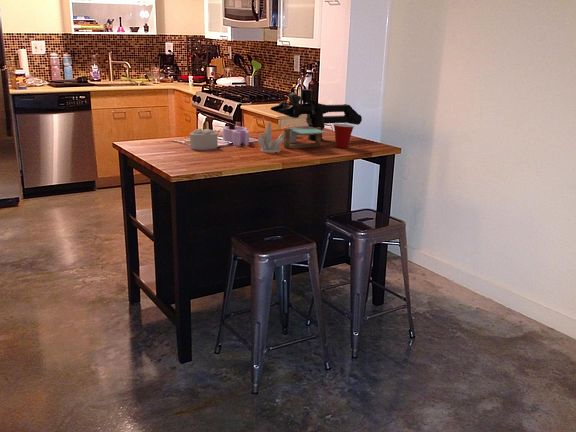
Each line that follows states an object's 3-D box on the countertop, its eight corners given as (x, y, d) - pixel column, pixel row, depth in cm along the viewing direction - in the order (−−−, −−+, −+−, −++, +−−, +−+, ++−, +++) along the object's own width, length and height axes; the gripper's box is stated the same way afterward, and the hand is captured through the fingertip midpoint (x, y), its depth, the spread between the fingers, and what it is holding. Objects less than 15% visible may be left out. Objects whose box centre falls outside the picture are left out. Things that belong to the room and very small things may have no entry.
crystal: (288, 151, 271) (289, 120, 266) (264, 153, 264) (265, 122, 259) (277, 147, 279) (279, 117, 274) (254, 149, 272) (255, 118, 267)
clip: (254, 145, 282) (255, 132, 279) (231, 146, 277) (231, 132, 274) (241, 138, 299) (241, 125, 297) (219, 139, 294) (219, 126, 292)
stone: (292, 141, 298) (292, 131, 296) (296, 142, 294) (296, 133, 292) (283, 141, 296) (284, 132, 294) (287, 143, 291) (288, 133, 290)
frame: (283, 147, 279) (284, 128, 276) (318, 145, 288) (319, 127, 285) (285, 148, 278) (286, 129, 275) (320, 146, 286) (321, 128, 283)
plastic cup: (355, 147, 289) (357, 123, 285) (348, 150, 279) (350, 126, 276) (335, 144, 293) (337, 121, 289) (328, 147, 284) (330, 124, 280)
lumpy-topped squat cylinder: (220, 148, 271) (220, 130, 269) (196, 150, 263) (196, 132, 261) (208, 144, 279) (208, 127, 276) (185, 146, 271) (185, 129, 268)
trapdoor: (286, 133, 282) (286, 126, 281) (310, 132, 288) (310, 126, 287) (300, 139, 269) (300, 132, 267) (325, 138, 275) (326, 131, 273)
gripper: (293, 91, 300) (267, 91, 294) (310, 95, 285) (282, 96, 278) (293, 112, 304) (267, 113, 297) (309, 117, 288) (282, 118, 281)
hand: (274, 109), depth 288 cm, fingers open, 9 cm apart
